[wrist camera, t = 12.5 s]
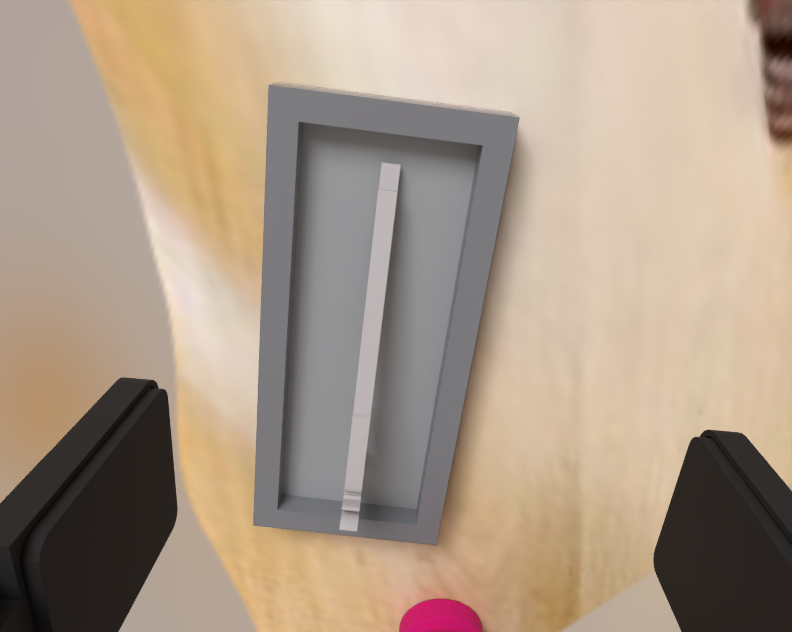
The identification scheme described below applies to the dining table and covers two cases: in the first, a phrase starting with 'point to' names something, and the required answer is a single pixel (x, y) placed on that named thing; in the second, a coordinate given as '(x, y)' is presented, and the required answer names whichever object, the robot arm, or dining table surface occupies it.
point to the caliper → (370, 343)
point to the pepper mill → (440, 617)
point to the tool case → (346, 296)
